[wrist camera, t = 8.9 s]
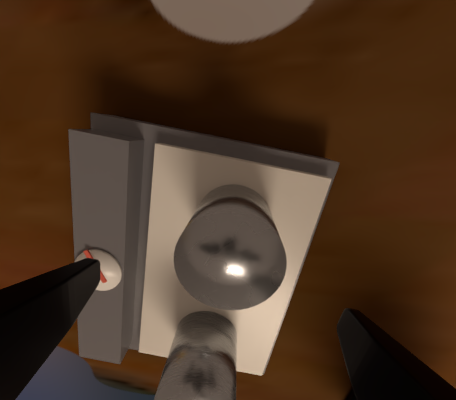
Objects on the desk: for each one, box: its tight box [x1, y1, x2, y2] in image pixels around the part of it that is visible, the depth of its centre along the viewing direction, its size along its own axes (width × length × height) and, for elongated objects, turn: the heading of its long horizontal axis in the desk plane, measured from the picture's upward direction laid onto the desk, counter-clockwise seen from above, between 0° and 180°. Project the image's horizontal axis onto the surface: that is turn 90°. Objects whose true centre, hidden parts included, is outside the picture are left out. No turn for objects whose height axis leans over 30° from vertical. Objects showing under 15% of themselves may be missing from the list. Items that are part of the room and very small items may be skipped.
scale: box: [68, 113, 339, 376], centre depth 17 cm, size 20×16×5 cm
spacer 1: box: [174, 184, 287, 310], centre depth 12 cm, size 5×5×5 cm
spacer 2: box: [154, 311, 237, 400], centre depth 15 cm, size 5×5×5 cm
